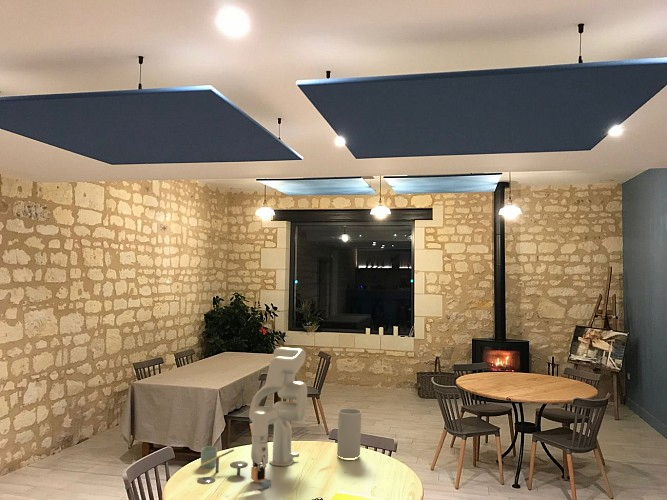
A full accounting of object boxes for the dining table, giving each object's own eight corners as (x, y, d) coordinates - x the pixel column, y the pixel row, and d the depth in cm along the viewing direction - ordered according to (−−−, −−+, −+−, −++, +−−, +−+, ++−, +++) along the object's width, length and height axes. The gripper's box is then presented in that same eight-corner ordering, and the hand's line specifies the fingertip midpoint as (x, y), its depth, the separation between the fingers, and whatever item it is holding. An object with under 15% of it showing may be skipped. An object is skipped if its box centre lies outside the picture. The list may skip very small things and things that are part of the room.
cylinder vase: (362, 460, 285) (363, 413, 287) (339, 461, 283) (341, 414, 284) (356, 453, 298) (357, 408, 299) (334, 453, 295) (336, 408, 296)
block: (260, 476, 252) (261, 465, 252) (265, 480, 247) (265, 469, 248) (251, 478, 249) (251, 467, 249) (255, 481, 245) (255, 470, 245)
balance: (239, 469, 266) (239, 446, 267) (249, 479, 254) (250, 455, 255) (190, 477, 254) (191, 454, 254) (199, 488, 241) (201, 463, 242)
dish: (264, 478, 256) (264, 475, 256) (274, 487, 246) (275, 484, 246) (241, 482, 250) (241, 480, 250) (250, 492, 240) (251, 489, 240)
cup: (212, 472, 262) (213, 451, 262) (197, 470, 263) (198, 450, 264) (218, 466, 269) (219, 446, 270) (204, 465, 271) (205, 445, 271)
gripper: (274, 442, 244) (273, 482, 243) (259, 432, 258) (258, 469, 257) (259, 444, 240) (258, 485, 239) (245, 433, 254) (243, 472, 253)
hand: (258, 476), depth 248 cm, fingers closed on block, 5 cm apart
